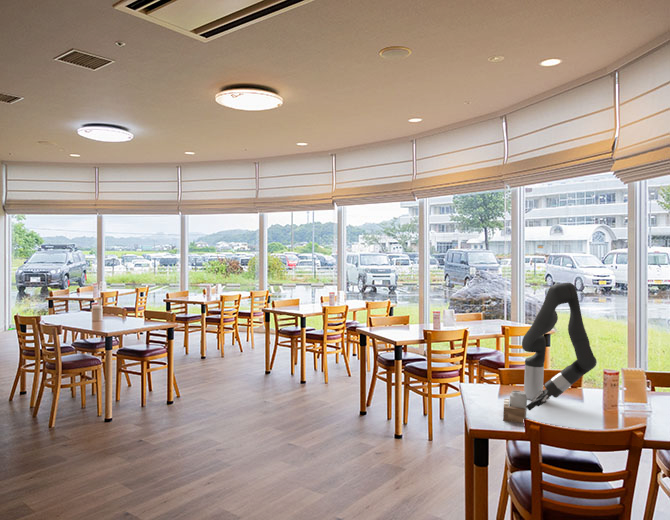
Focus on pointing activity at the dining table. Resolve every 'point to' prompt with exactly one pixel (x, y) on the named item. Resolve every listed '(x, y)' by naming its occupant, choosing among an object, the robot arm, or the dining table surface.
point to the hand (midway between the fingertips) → (527, 408)
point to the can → (518, 400)
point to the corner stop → (513, 413)
